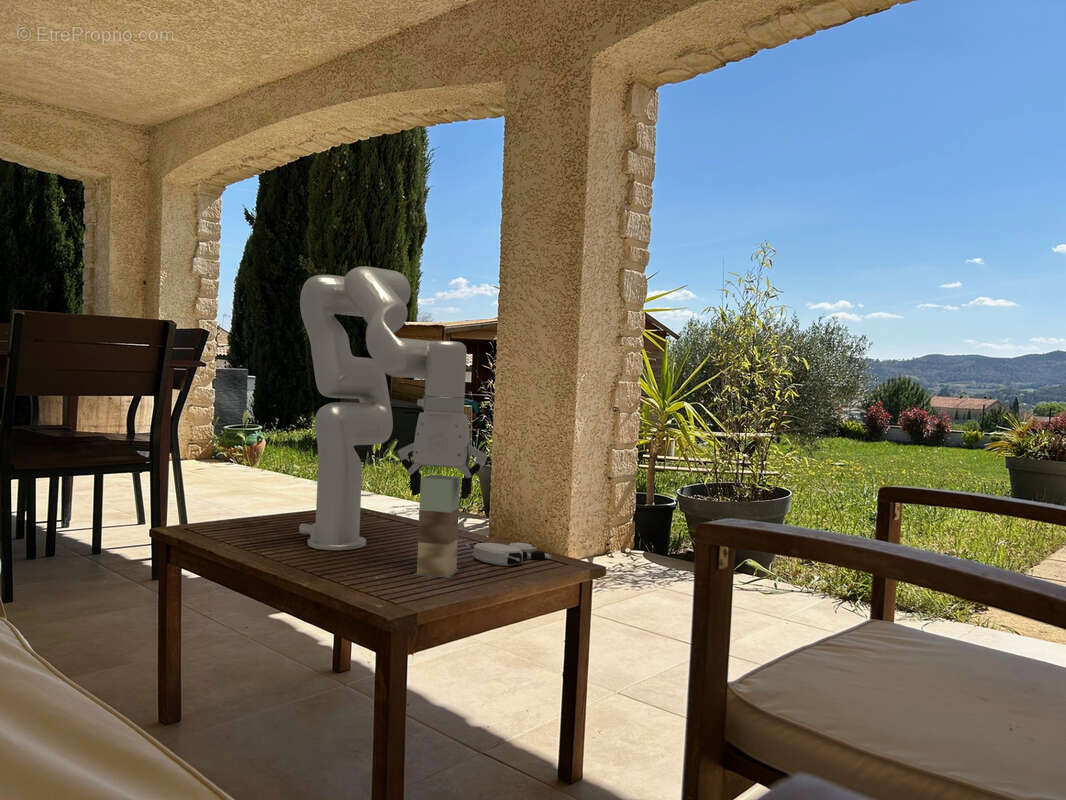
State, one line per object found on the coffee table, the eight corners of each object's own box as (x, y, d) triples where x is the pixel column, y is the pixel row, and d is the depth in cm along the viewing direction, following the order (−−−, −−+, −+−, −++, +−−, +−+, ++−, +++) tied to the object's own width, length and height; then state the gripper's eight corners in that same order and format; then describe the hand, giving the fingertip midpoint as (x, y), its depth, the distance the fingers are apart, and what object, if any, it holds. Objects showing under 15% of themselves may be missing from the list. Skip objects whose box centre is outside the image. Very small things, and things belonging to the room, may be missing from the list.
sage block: (419, 510, 148) (420, 478, 148) (429, 505, 154) (430, 474, 154) (450, 512, 147) (451, 480, 147) (459, 507, 153) (460, 476, 153)
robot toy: (513, 559, 175) (461, 562, 164) (515, 538, 175) (463, 540, 164) (554, 570, 166) (501, 574, 156) (556, 548, 166) (504, 551, 156)
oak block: (416, 574, 149) (418, 542, 149) (426, 566, 155) (427, 536, 154) (447, 576, 148) (449, 544, 148) (456, 569, 154) (457, 538, 153)
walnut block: (417, 542, 149) (419, 510, 148) (427, 536, 154) (428, 505, 154) (448, 544, 148) (450, 512, 147) (457, 538, 153) (458, 507, 153)
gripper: (393, 404, 148) (389, 495, 149) (484, 409, 145) (479, 502, 146) (407, 403, 156) (403, 490, 156) (493, 408, 153) (489, 497, 153)
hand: (440, 496), depth 151 cm, fingers open, 9 cm apart
